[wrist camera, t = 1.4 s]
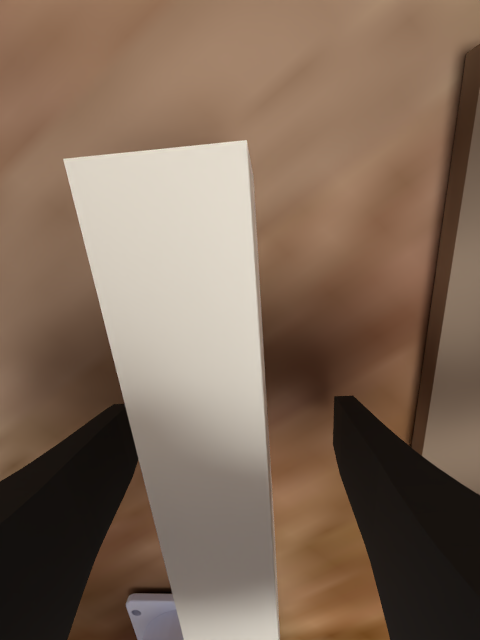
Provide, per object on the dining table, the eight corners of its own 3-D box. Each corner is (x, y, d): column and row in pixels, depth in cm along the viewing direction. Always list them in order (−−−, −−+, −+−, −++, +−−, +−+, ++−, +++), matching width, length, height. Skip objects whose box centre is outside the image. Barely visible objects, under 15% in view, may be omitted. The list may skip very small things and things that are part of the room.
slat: (274, 533, 15) (284, 727, 10) (224, 533, 15) (204, 722, 10) (253, 176, 10) (246, 139, 4) (174, 183, 10) (63, 158, 4)
